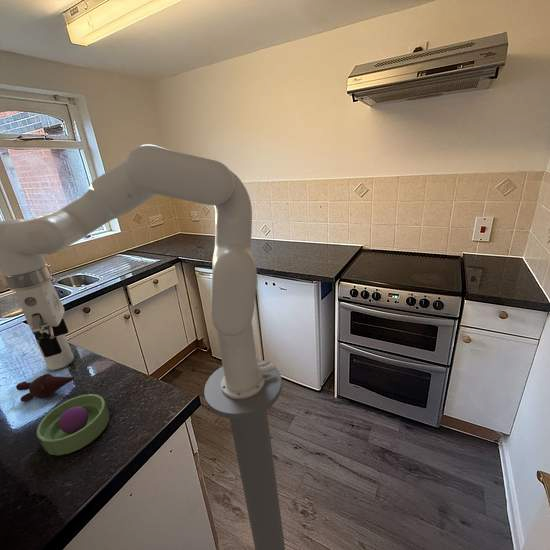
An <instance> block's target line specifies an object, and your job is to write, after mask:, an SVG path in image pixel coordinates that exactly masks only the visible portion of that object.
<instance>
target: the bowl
mask: <svg viewBox="0 0 550 550" xmlns="http://www.w3.org/2000/svg"><path fill="white" fill-rule="evenodd" d="M72 407H82V408H84V409H85V410H86V411H87V413H88V421H87V424H86V425H85V426H84V428H82V429H81V430H79V431H77V432H75V433H71V434H69V433H65V432H63V431H62V430H61V429H60V426H59V420H60V417H61V416H62V414H63V413H64V412H65V411H66V410H68V409H69V408H72ZM109 422H110V412H109V410H108V406H107V403H106V401H105V400H104V398H103V396H101V395H99V394H94V393H93V394H92V393H88V394H82V395H81V394H80V395H79V396H75V397H73V398H70V399H68V400H66V401H64V402H62V403H60V404H59V405H57V406H55V407H54V408H53V409H51V410H50V411H48V413H47V414H46V415H45V416H44V417H42V419H41V421H40V422H39V424H38V426H37V429H36V436H37V439H38V441H39V443H40V444H41V446H42V449H43V450H44V452H46V453H47V454H49V455H51V456H63V455H68V454H71V453H74V452H76V451H78V450H81V449H83V448H84V447H86V446H87V445H89V444H91V443H92V442H93V441H94V440H96V439H97V438H98V437H99V436H100V435H101V434H102V433H103V431H104V430H105V429H106V428H107V426H108V423H109Z"/></svg>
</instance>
